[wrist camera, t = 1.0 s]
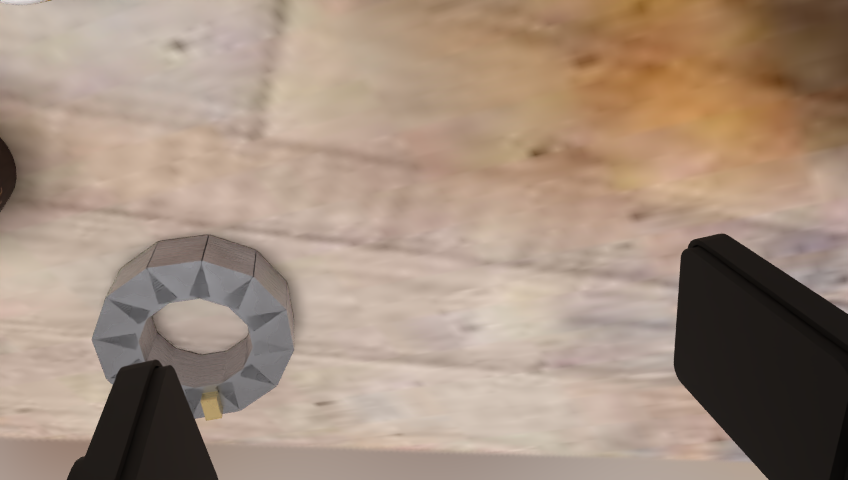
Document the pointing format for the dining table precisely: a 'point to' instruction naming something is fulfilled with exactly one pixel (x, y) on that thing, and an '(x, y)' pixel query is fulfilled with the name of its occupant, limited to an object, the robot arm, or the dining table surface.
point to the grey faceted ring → (213, 281)
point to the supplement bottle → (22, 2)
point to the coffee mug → (6, 174)
